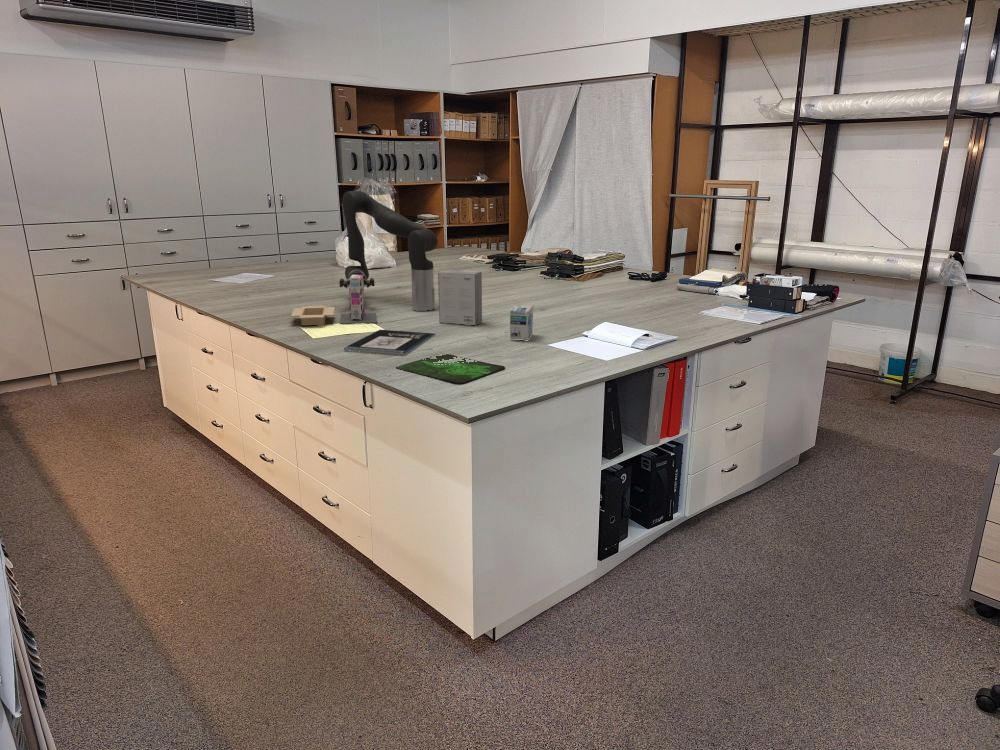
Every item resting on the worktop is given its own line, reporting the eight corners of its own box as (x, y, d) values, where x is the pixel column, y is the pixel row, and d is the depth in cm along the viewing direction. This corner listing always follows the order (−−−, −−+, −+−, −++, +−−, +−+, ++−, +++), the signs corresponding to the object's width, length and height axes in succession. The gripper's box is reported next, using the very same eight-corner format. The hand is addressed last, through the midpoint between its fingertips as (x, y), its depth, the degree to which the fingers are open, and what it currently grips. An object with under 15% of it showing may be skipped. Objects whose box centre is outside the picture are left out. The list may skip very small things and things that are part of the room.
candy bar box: (363, 320, 263) (361, 278, 258) (350, 320, 263) (348, 278, 258) (365, 314, 274) (363, 274, 269) (353, 314, 273) (350, 274, 268)
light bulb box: (528, 341, 236) (528, 311, 233) (509, 340, 237) (509, 310, 234) (532, 334, 246) (533, 305, 243) (514, 333, 247) (515, 304, 244)
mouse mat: (391, 369, 204) (391, 365, 203) (441, 354, 220) (441, 351, 220) (460, 386, 188) (460, 383, 187) (507, 369, 204) (508, 366, 204)
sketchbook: (435, 337, 244) (435, 331, 243) (404, 358, 216) (404, 352, 216) (379, 332, 249) (379, 327, 248) (342, 353, 221) (342, 346, 220)
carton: (335, 315, 275) (334, 305, 273) (333, 326, 254) (333, 316, 253) (295, 316, 272) (294, 306, 270) (290, 328, 251) (289, 317, 250)
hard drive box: (482, 322, 264) (482, 271, 259) (475, 326, 257) (475, 274, 252) (446, 319, 269) (445, 269, 263) (438, 323, 262) (437, 271, 256)
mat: (375, 313, 278) (375, 312, 278) (377, 323, 261) (377, 322, 261) (341, 314, 275) (341, 313, 275) (339, 324, 258) (339, 323, 258)
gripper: (339, 270, 288) (338, 276, 273) (373, 270, 291) (374, 275, 276) (340, 288, 290) (339, 295, 275) (374, 287, 293) (375, 294, 278)
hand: (357, 285), depth 275 cm, fingers open, 8 cm apart
